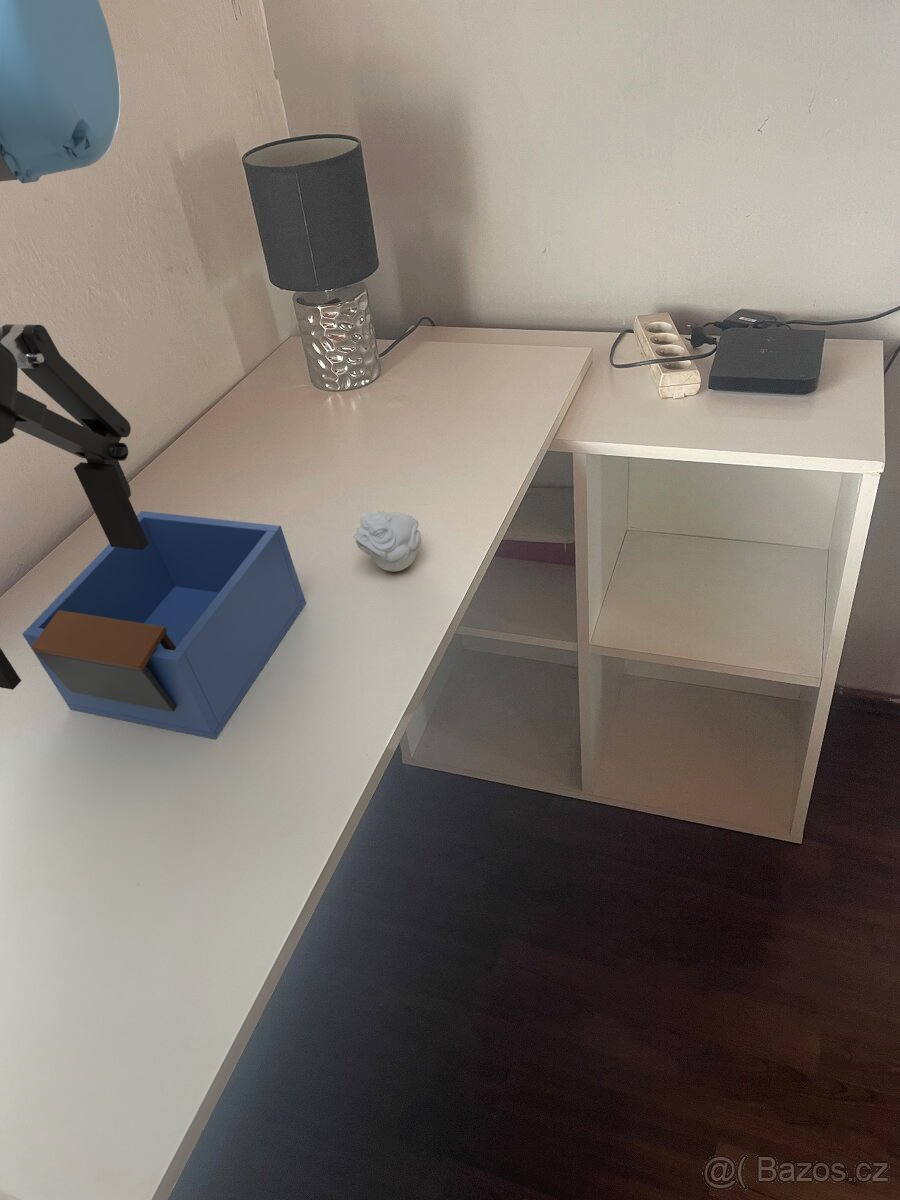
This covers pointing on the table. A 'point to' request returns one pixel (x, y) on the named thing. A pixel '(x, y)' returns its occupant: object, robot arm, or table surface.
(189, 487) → the table surface
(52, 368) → the robot arm
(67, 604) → the bin
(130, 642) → the two-tone wooden bracket
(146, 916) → the table surface
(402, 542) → the frog figurine
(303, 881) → the table surface
